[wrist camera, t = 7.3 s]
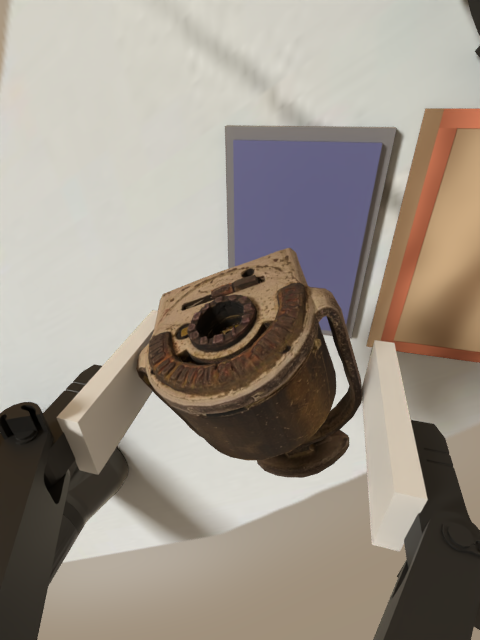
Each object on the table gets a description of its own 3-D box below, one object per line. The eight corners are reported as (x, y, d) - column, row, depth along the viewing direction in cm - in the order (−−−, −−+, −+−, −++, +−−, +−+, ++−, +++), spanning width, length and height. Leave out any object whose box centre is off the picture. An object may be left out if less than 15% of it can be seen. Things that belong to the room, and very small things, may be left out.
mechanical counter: (480, 319, 8) (78, 308, 8) (374, 587, 14) (139, 578, 14) (380, 242, 15) (151, 237, 15) (335, 450, 21) (172, 445, 21)
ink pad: (231, 318, 32) (228, 324, 31) (227, 125, 24) (222, 126, 23) (351, 333, 30) (351, 341, 29) (395, 127, 21) (397, 128, 20)
